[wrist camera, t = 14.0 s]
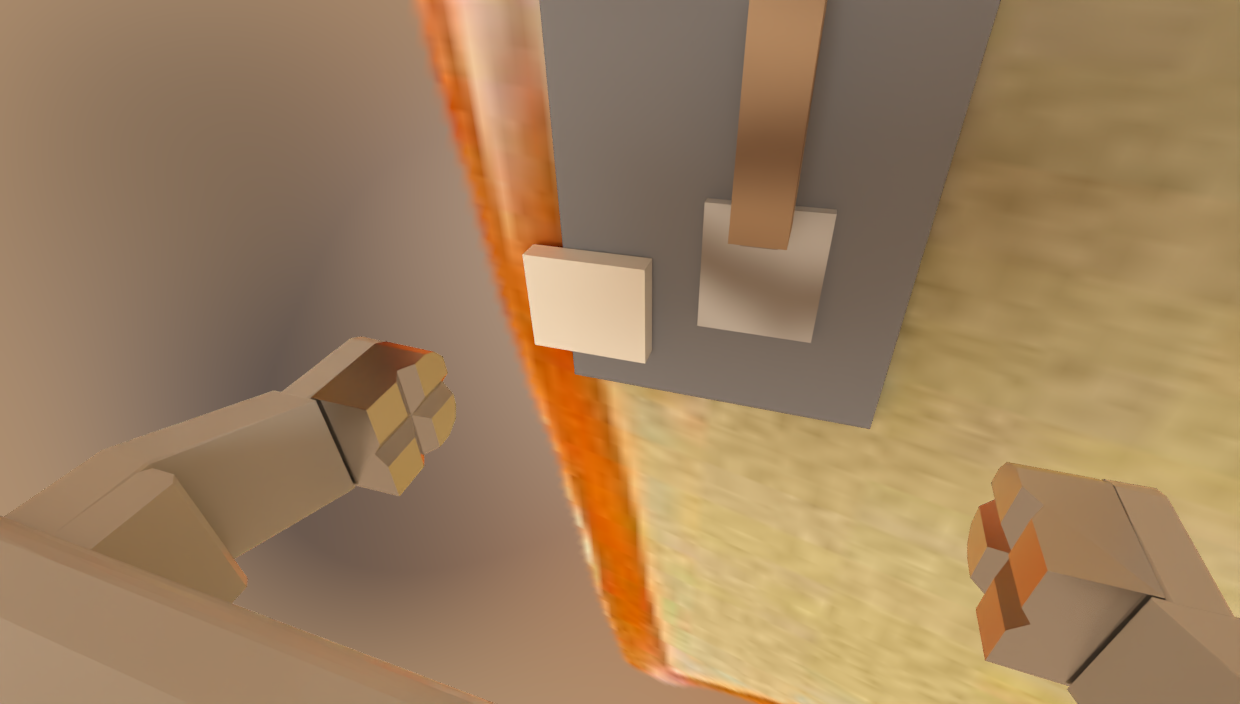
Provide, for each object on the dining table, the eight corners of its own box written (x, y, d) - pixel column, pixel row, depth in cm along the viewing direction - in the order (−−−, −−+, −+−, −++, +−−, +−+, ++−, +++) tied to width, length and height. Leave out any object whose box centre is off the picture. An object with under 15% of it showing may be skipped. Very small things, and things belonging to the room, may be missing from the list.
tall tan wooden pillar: (720, -18, 23) (695, -11, 19) (883, -21, 21) (888, -14, 17) (699, 320, 32) (680, 366, 28) (811, 336, 30) (805, 388, 27)
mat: (531, -156, 22) (524, -158, 22) (1058, -206, 18) (1064, -210, 17) (578, 368, 38) (574, 374, 37) (869, 422, 33) (869, 429, 32)
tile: (652, 257, 30) (534, 243, 32) (644, 270, 29) (522, 254, 31) (652, 349, 34) (545, 331, 36) (645, 363, 33) (535, 344, 35)
